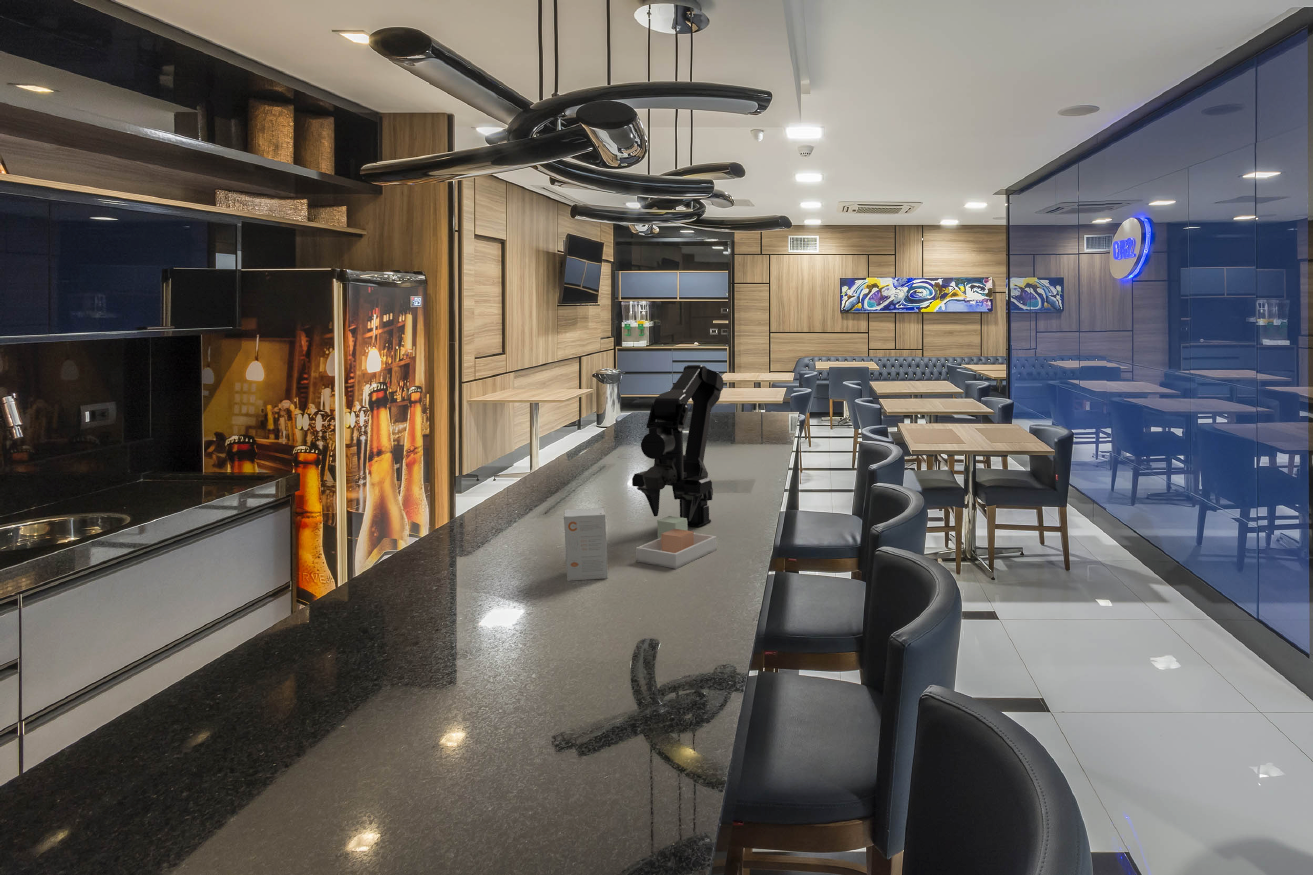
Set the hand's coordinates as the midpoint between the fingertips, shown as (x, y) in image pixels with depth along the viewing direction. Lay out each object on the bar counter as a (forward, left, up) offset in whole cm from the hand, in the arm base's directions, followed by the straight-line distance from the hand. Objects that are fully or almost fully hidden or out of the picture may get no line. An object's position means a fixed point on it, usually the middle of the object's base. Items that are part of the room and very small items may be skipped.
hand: (672, 518), depth 189 cm
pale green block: (0, 0, -5) cm, 5 cm away
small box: (+1, -32, -5) cm, 32 cm away
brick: (+9, -12, -4) cm, 15 cm away
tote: (+9, -12, -5) cm, 15 cm away
